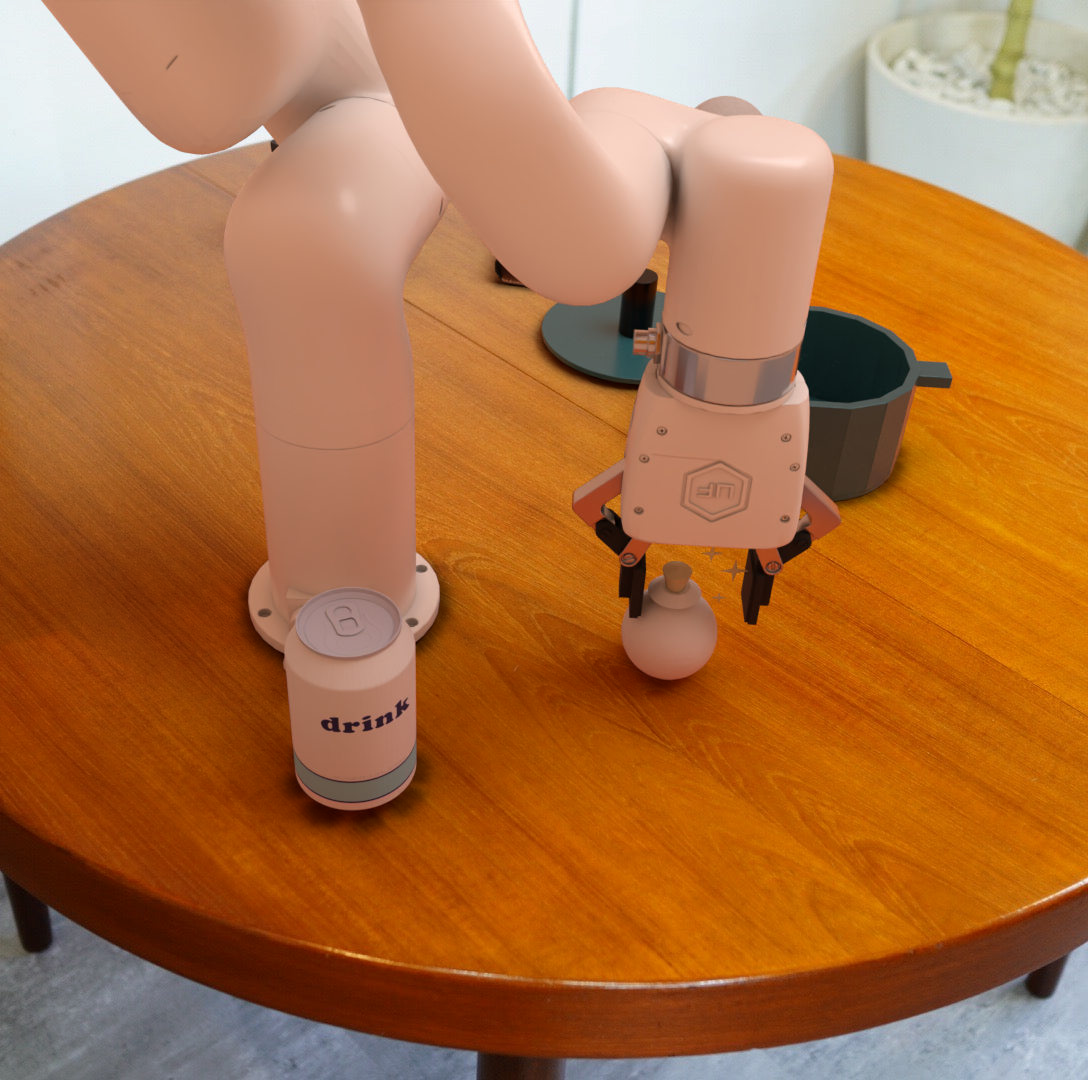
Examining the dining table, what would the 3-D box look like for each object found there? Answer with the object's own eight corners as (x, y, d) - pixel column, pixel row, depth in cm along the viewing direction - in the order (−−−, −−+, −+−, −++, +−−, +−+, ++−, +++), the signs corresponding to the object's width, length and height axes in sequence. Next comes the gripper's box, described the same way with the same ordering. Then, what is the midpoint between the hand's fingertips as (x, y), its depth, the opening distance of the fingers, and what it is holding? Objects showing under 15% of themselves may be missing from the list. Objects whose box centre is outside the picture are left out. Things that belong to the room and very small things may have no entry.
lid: (733, 397, 112) (745, 328, 108) (537, 384, 112) (541, 314, 108) (720, 303, 125) (729, 239, 121) (544, 292, 125) (548, 227, 121)
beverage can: (315, 836, 73) (302, 680, 65) (282, 750, 78) (267, 595, 70) (433, 802, 75) (433, 647, 68) (394, 720, 80) (390, 567, 73)
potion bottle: (613, 635, 87) (625, 515, 81) (724, 633, 88) (744, 514, 82) (623, 700, 83) (636, 578, 76) (740, 698, 83) (762, 577, 77)
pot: (946, 511, 100) (974, 416, 95) (671, 492, 100) (684, 397, 95) (909, 402, 113) (932, 313, 107) (664, 386, 113) (675, 296, 107)
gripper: (566, 382, 68) (550, 639, 79) (901, 401, 68) (838, 656, 79) (569, 313, 74) (554, 561, 85) (877, 330, 74) (822, 576, 85)
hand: (691, 605), depth 82 cm, fingers closed on potion bottle, 6 cm apart
